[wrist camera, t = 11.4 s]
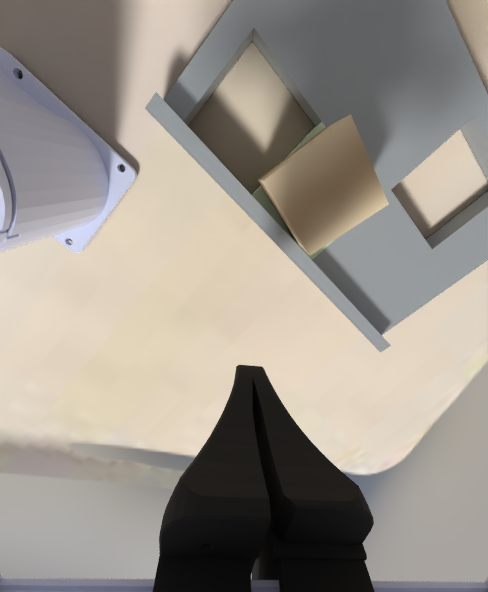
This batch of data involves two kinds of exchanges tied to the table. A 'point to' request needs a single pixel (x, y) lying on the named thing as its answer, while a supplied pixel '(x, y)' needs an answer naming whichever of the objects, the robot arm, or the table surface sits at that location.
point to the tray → (372, 129)
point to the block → (325, 186)
